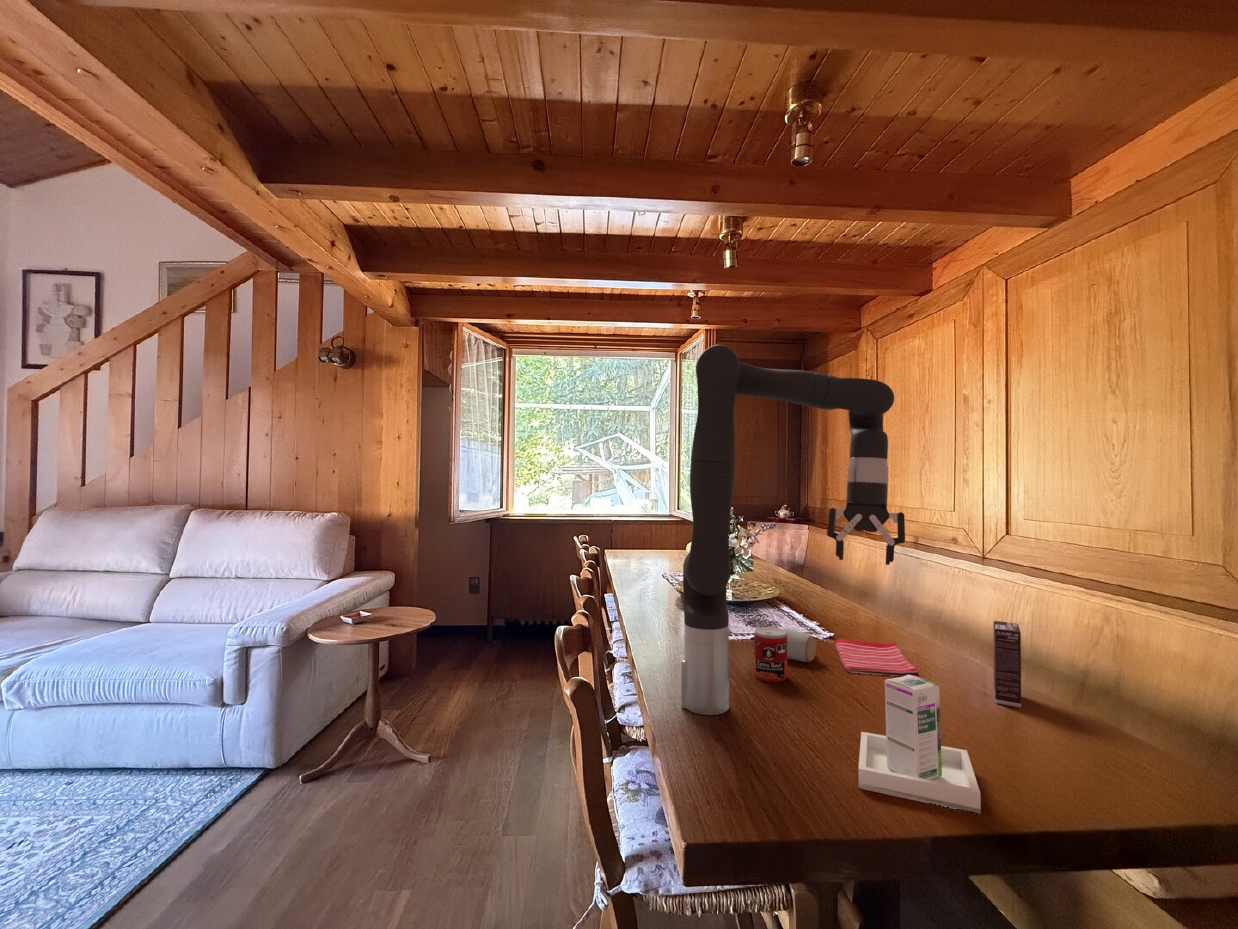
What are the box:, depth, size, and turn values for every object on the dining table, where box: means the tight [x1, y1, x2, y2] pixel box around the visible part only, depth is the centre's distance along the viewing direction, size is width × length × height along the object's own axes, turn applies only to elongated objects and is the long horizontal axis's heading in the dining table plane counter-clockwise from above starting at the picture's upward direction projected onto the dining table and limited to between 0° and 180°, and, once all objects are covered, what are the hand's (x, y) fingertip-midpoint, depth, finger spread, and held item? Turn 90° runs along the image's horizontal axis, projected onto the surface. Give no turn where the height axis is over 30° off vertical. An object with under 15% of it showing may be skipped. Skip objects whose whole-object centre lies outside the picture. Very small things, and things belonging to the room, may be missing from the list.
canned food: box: [753, 626, 788, 683], centre depth 135 cm, size 8×8×11 cm
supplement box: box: [993, 620, 1022, 709], centre depth 122 cm, size 9×5×16 cm, turn 148°
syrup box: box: [884, 675, 942, 780], centre depth 90 cm, size 6×6×14 cm
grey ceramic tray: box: [857, 731, 982, 815], centre depth 90 cm, size 16×14×3 cm
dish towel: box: [834, 638, 921, 678], centre depth 148 cm, size 17×24×3 cm
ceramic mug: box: [783, 627, 817, 663], centre depth 150 cm, size 11×8×8 cm
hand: (864, 562), depth 112 cm, fingers open, 8 cm apart
